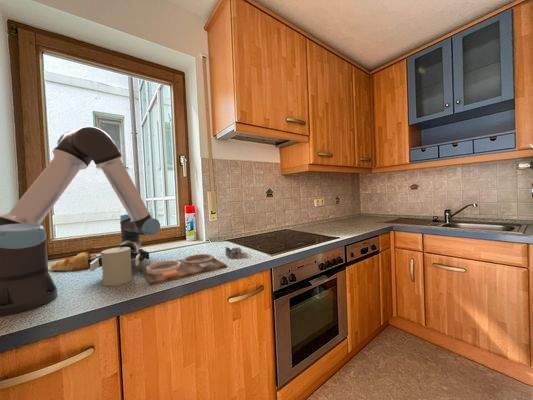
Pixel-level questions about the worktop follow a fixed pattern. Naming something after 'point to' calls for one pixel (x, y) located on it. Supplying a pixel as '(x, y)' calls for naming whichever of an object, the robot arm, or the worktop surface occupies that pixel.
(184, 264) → the walnut board
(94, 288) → the worktop surface
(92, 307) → the worktop surface
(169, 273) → the ring
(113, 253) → the can
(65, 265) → the croissant
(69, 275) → the worktop surface
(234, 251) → the egg carton
